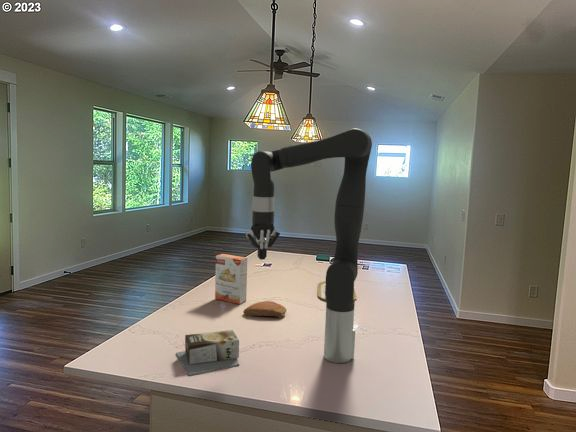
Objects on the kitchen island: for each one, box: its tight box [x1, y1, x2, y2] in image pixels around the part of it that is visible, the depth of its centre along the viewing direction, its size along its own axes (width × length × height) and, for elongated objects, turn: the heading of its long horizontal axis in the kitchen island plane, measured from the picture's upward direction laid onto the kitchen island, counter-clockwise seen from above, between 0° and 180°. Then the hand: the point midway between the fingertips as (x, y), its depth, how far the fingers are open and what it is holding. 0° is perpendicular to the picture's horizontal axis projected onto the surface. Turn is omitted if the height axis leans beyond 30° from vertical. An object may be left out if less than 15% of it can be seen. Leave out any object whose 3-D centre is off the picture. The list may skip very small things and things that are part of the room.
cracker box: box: [214, 253, 248, 305], centre depth 194 cm, size 14×6×21 cm, turn 62°
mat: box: [175, 350, 240, 377], centre depth 136 cm, size 16×16×1 cm
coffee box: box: [184, 329, 240, 365], centre depth 138 cm, size 9×6×16 cm
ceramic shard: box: [243, 300, 287, 319], centre depth 179 cm, size 15×6×15 cm
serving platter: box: [317, 280, 357, 302], centre depth 214 cm, size 19×35×2 cm, turn 176°
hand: (262, 259), depth 147 cm, fingers closed
